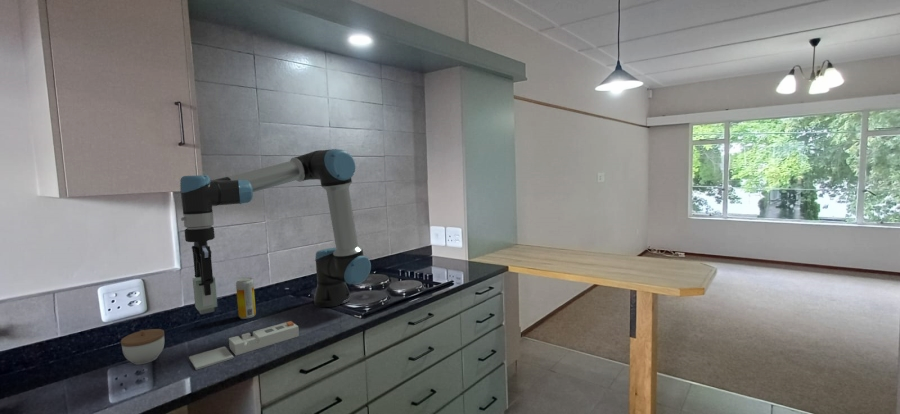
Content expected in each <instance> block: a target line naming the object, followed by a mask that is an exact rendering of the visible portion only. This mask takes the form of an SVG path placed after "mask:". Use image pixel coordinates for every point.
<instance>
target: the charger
mask: <svg viewBox="0 0 900 414" xmlns="http://www.w3.org/2000/svg"><path fill="white" fill-rule="evenodd" d="M201 283H202V282H201V277H197V278H196V277H193V278H192V286H193V300H194V307H195V308H196V310H197V311H198V312H199V314H200V315H206V314H209V313H212V312H215V308H217V307H218V299H217V297H218V296H217V286H216V277H215V276H213V283H212V293H213V305H209V306H204V307H203V305H202V294H201V286H199V284H201Z"/></svg>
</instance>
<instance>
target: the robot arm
mask: <svg viewBox="0 0 900 414" xmlns="http://www.w3.org/2000/svg"><path fill="white" fill-rule="evenodd" d="M355 172H356V163H355V159H354V157H353V156H352V154H350V153H349V152H348V151H346V150H344V149H339V148H332V149H323V150H322V149H319V150H314V151H311V152H308V153H305V154H301V155H299V156H296V157H292V158H290V159H289V160H288V161H286V162H282V163H278V164H273V165H269V166H265V167H260V168H257V169H253V170H249V171H244V172H241V173H236V174H232V175H228V176H224V177H220V178H217V179H210V175H208V174H204V175H203V174H201V175H199V174H198V175H197V174H196V175H183V176H181V178H180V179H179V180H180V181H179V182H180V183H179V184H180V185H179V187H180V188H179V192H180V197H181V198H180V199H181V206H182V208H181V209H182V214H183V215H182V216H183V217H181V218H180V221H183V227H184V228H185V229H184V231H183V232H184V239H185V241H186V242H187V243H193V245H192V246H191V249H192V250H191V251H192V260H193V267H194V270H193V271H194V278H197V277H201V282H202V283H201V284H199V286H201V294H202V305H203V307H204V306H209V305H213V293H212V283H213V277H214V275H213V264H212V263H213V262H212V250H211V247H210V245H208V241H213V240H214V239H215V237H216V236H215V228H214V227H213V226H214V225H215V223H214V211H213V207H218V206H228V205H230V206H231V205H242V204H248V203H251V201H252V199H253V197H254V192H259V191H262V190H266V189H270V188H272V187H277V186H280V185H283V184H288V183H290V182H294V181H296V182H298V183H299V182H304V181H309V180H311V181H312V180H320V186H321V188H323V189H324V190H325V191H326V196H327V201H328V202H327V203H328V208H329V214H330V221H331V225H332V226H331V227H332V231H333V232H332V233H333V236H334V243H335V247H329V248H325V249H320V250H318V251H316V253H315V260H314V261H315V270H316V271H315V272H316V284H317V285H316V288H315V293H314V297H313V304H314V305H315V306H317V307H322V308H331V307H333V308H334V307H338V305H339V306H341V305H340V304H341V303H342V302H343V301H344V300H346V299H348V298H349V297H350V298H351V293H350V290H349V287H348V285H359V284H361V283H364V281H366V280H367V279H368V276H369V275H370V272H371V269H372V264H371V261H370V259H369V258H368V257H367V256H365V255H364V251H363V247H362V246H361V245H359V243H358V236H357V230H356V224H355V220H354V212H353V206H352V199H351V193H350V186H351V184H352V182H353V181H352V177H353V176H354V173H355Z"/></svg>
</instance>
